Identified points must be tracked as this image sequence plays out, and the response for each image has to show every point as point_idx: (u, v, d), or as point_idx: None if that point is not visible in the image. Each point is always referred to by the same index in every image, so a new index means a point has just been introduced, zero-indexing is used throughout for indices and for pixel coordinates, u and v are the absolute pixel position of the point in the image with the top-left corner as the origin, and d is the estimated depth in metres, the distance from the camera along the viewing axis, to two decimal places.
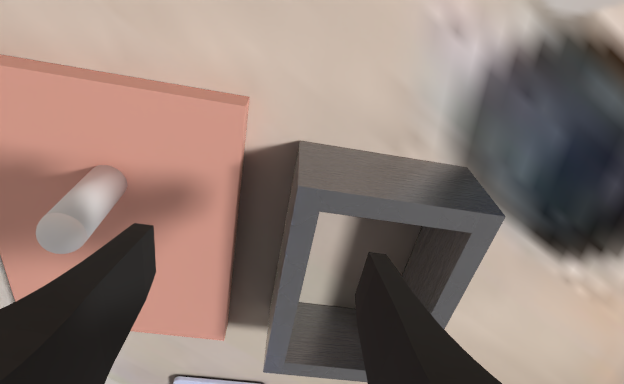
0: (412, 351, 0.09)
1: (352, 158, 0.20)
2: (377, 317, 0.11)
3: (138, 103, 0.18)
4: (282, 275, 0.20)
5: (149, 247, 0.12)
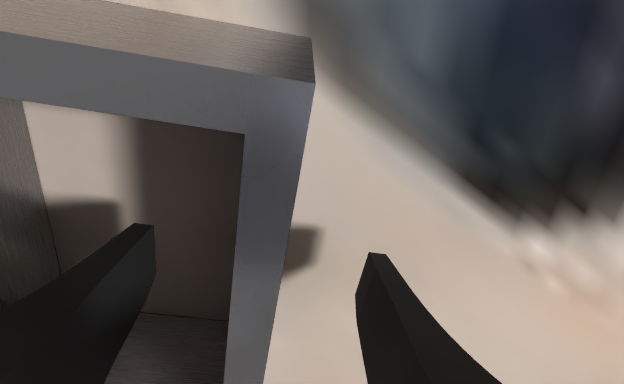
0: (412, 351, 0.09)
1: None
2: (377, 317, 0.11)
3: None
4: None
5: (149, 247, 0.12)
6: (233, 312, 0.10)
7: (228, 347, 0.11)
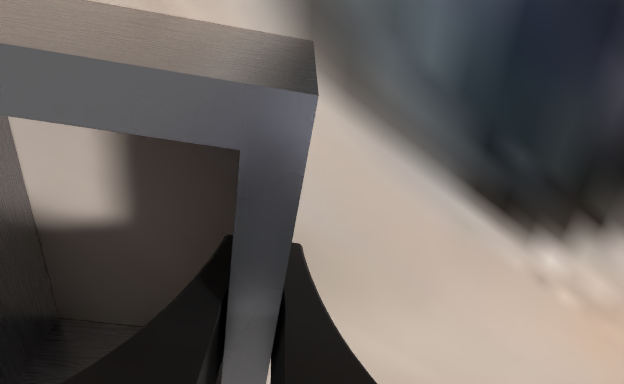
0: (284, 338, 0.08)
1: None
2: None
3: None
4: None
5: None
6: (229, 337, 0.09)
7: (224, 373, 0.10)
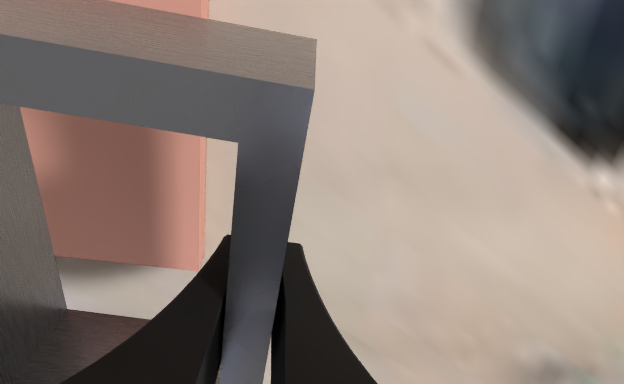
0: (285, 339, 0.08)
1: None
2: (278, 306, 0.11)
3: None
4: None
5: None
6: (228, 328, 0.10)
7: (223, 363, 0.10)
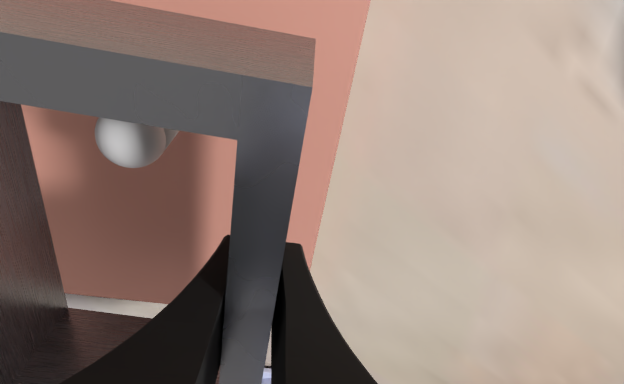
0: (285, 339, 0.08)
1: None
2: (278, 306, 0.11)
3: None
4: None
5: None
6: (227, 325, 0.10)
7: (222, 361, 0.10)
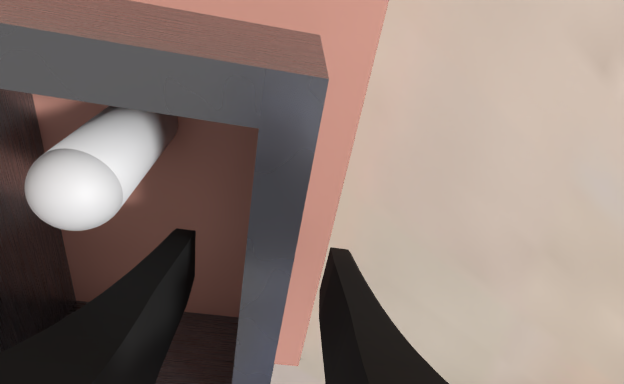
0: (356, 346, 0.09)
1: None
2: (334, 312, 0.11)
3: None
4: None
5: (192, 252, 0.12)
6: (243, 305, 0.10)
7: (238, 340, 0.11)
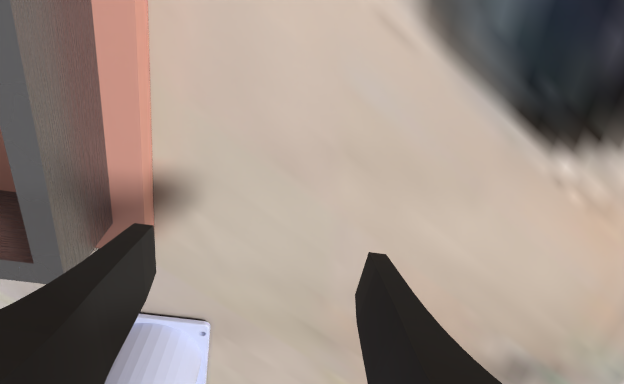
0: (412, 351, 0.09)
1: None
2: (377, 317, 0.11)
3: None
4: None
5: (150, 247, 0.12)
6: (4, 129, 0.14)
7: (10, 164, 0.14)
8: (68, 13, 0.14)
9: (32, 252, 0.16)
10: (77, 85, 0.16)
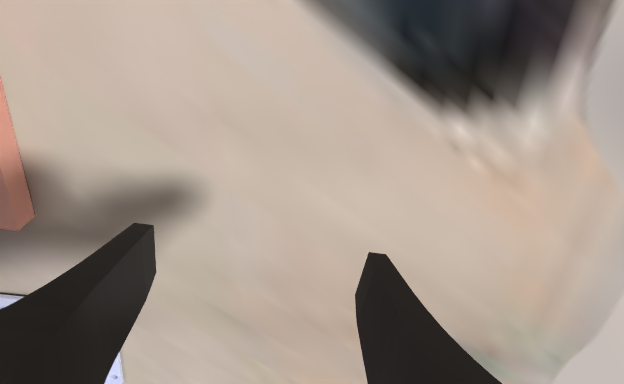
0: (412, 351, 0.09)
1: None
2: (377, 317, 0.11)
3: None
4: None
5: (150, 247, 0.12)
6: None
7: None
8: None
9: None
10: None
